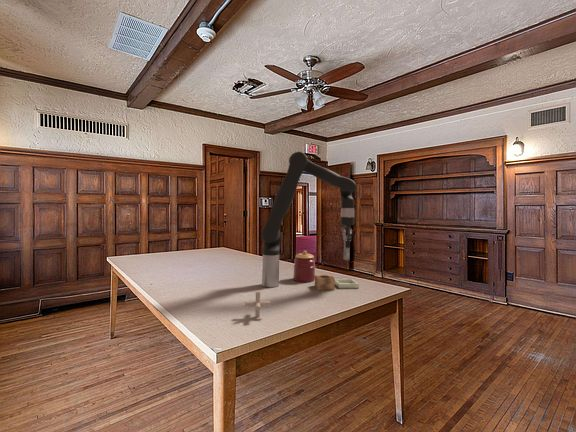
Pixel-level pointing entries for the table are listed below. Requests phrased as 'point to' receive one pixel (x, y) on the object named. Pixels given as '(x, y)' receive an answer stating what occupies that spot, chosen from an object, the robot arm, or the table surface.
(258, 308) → the pipe connector
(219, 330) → the table surface
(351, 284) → the tray
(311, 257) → the canister
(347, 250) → the steel pin
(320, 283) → the block
